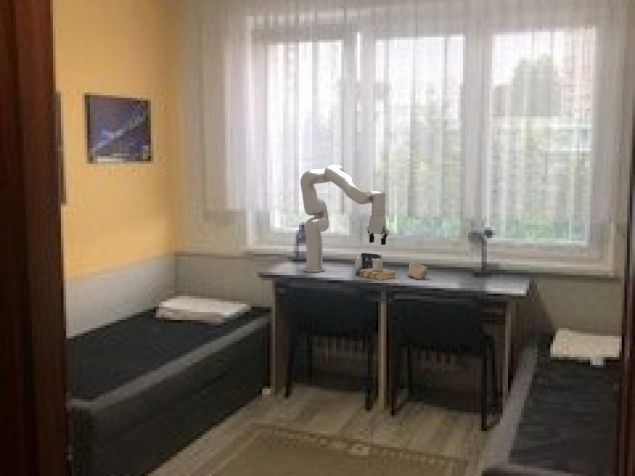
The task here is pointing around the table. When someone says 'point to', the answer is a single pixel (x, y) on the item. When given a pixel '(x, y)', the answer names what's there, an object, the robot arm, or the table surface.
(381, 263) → the square bit
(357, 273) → the round bit
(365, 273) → the bore block
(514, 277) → the table surface
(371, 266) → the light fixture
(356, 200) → the robot arm
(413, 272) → the decorative stone
